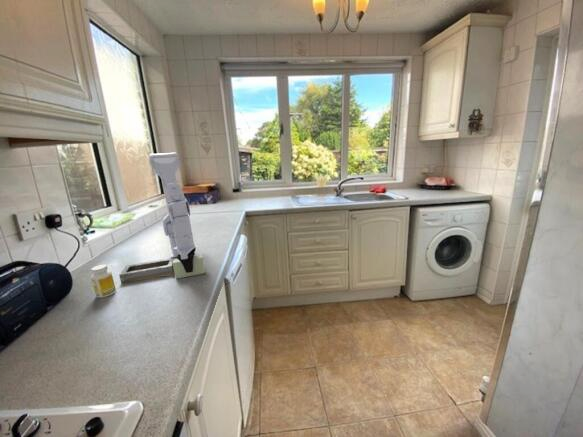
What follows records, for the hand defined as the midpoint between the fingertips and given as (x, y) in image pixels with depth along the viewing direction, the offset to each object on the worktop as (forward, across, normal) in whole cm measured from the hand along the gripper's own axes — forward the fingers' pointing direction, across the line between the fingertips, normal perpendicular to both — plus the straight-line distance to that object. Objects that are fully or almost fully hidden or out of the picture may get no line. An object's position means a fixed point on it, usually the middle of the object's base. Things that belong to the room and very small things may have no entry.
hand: (190, 269), depth 92 cm
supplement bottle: (+2, +3, -26) cm, 26 cm away
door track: (+2, -7, -15) cm, 17 cm away
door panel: (+2, 0, 0) cm, 2 cm away
